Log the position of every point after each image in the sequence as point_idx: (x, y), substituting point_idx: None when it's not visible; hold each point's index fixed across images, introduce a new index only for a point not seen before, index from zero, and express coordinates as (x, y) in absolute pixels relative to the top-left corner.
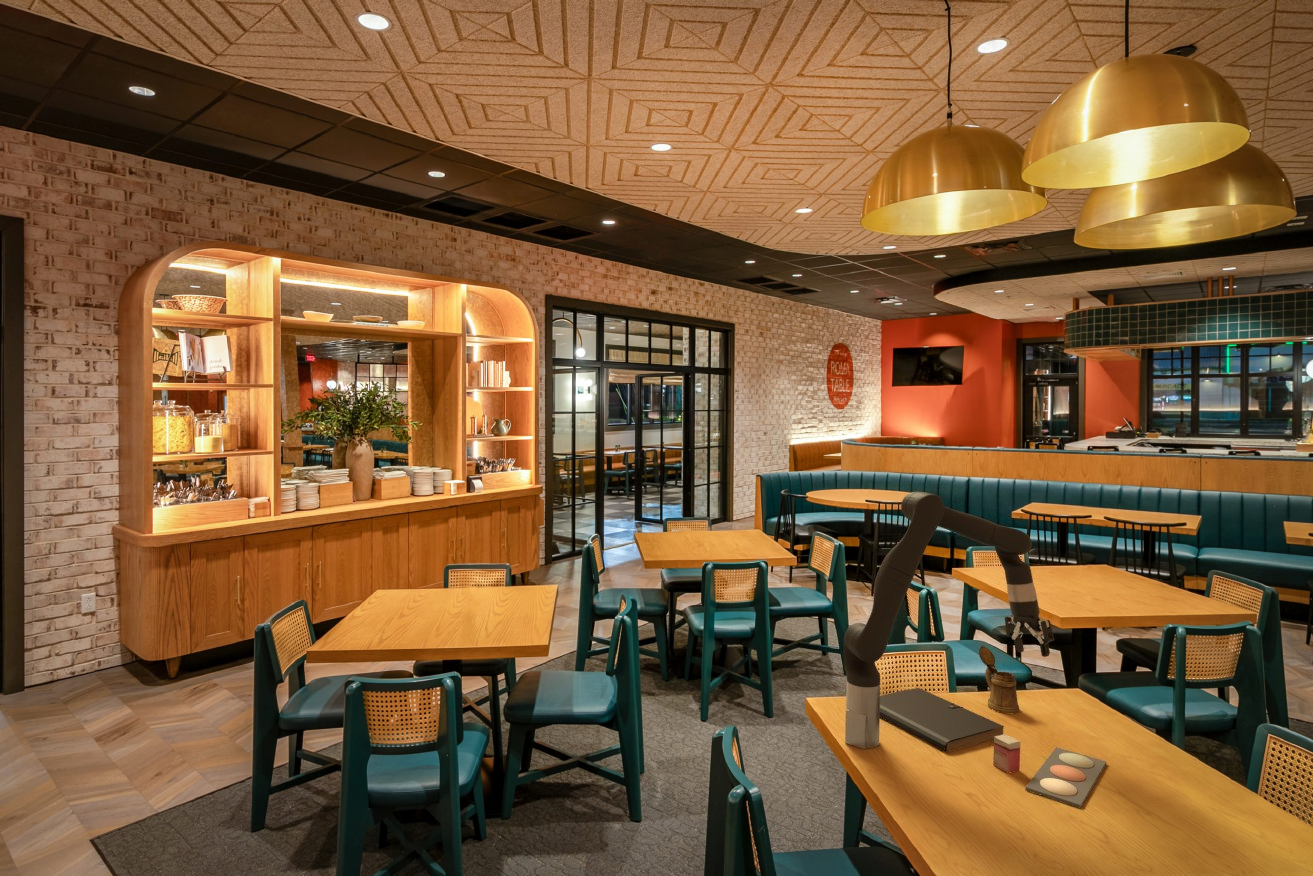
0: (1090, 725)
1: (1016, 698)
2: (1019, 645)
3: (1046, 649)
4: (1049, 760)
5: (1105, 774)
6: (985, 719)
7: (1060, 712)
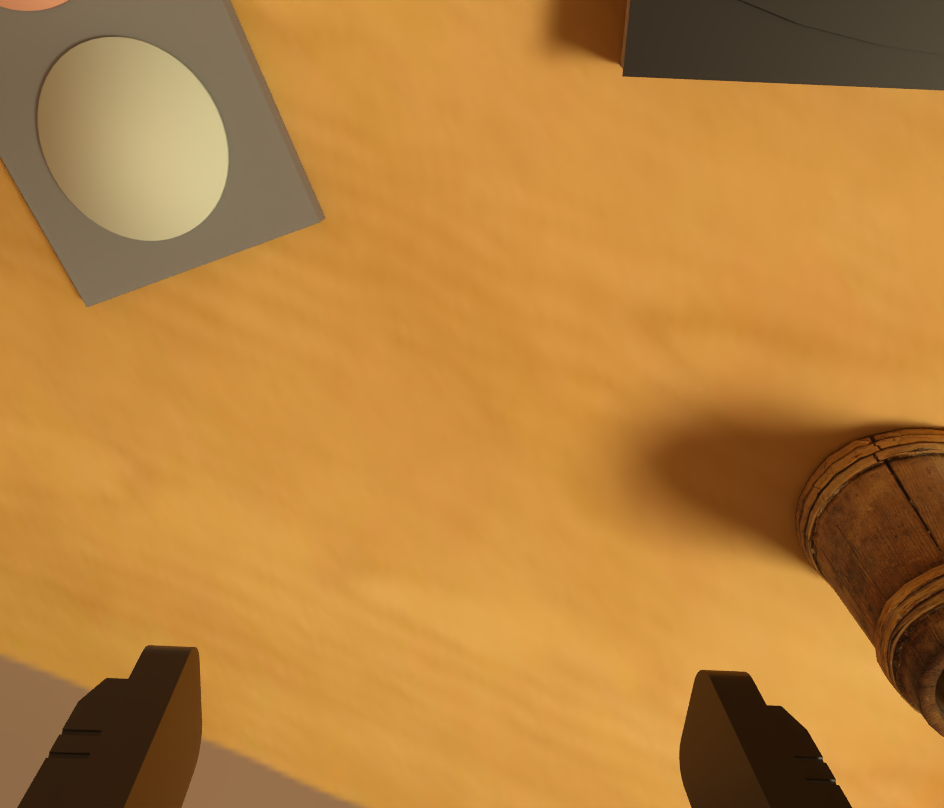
0: (463, 678)
1: (838, 587)
2: (733, 795)
3: (47, 777)
4: None
5: (2, 173)
6: (797, 52)
7: (648, 711)
